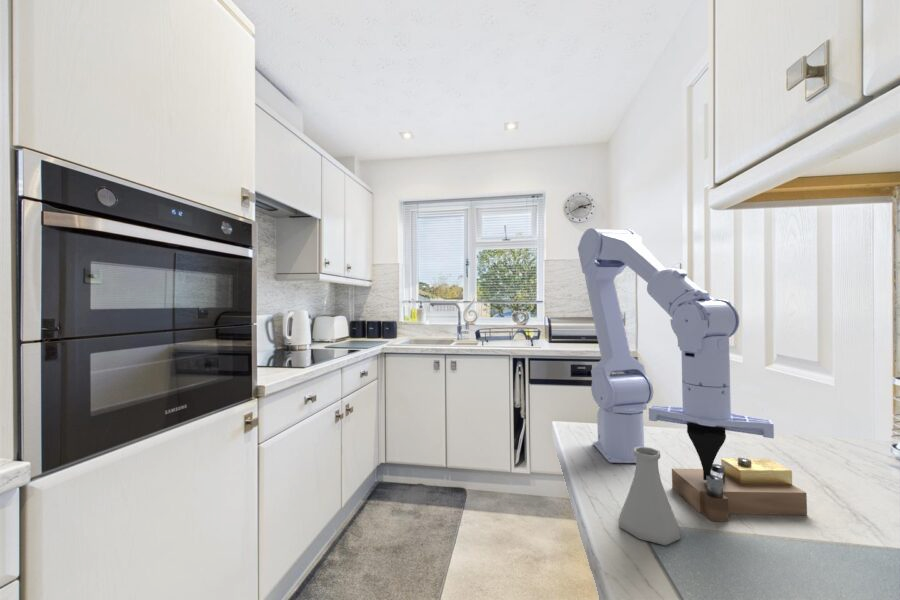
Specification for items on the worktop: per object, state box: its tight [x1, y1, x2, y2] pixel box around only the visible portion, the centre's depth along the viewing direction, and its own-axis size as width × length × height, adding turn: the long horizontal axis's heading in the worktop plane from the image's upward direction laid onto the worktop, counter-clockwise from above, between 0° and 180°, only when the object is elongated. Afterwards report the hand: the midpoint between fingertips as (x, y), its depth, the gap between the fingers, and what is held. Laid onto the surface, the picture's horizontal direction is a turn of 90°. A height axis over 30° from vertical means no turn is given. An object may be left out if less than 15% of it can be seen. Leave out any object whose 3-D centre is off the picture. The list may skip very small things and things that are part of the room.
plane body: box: [671, 468, 808, 522], centre depth 53 cm, size 9×14×3 cm, turn 86°
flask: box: [618, 446, 682, 546], centre depth 48 cm, size 7×7×10 cm
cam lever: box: [706, 463, 725, 498], centre depth 51 cm, size 7×2×2 cm, turn 140°
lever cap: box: [720, 457, 793, 485], centre depth 54 cm, size 4×7×3 cm, turn 86°
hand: (707, 477), depth 53 cm, fingers closed, pressing on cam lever
